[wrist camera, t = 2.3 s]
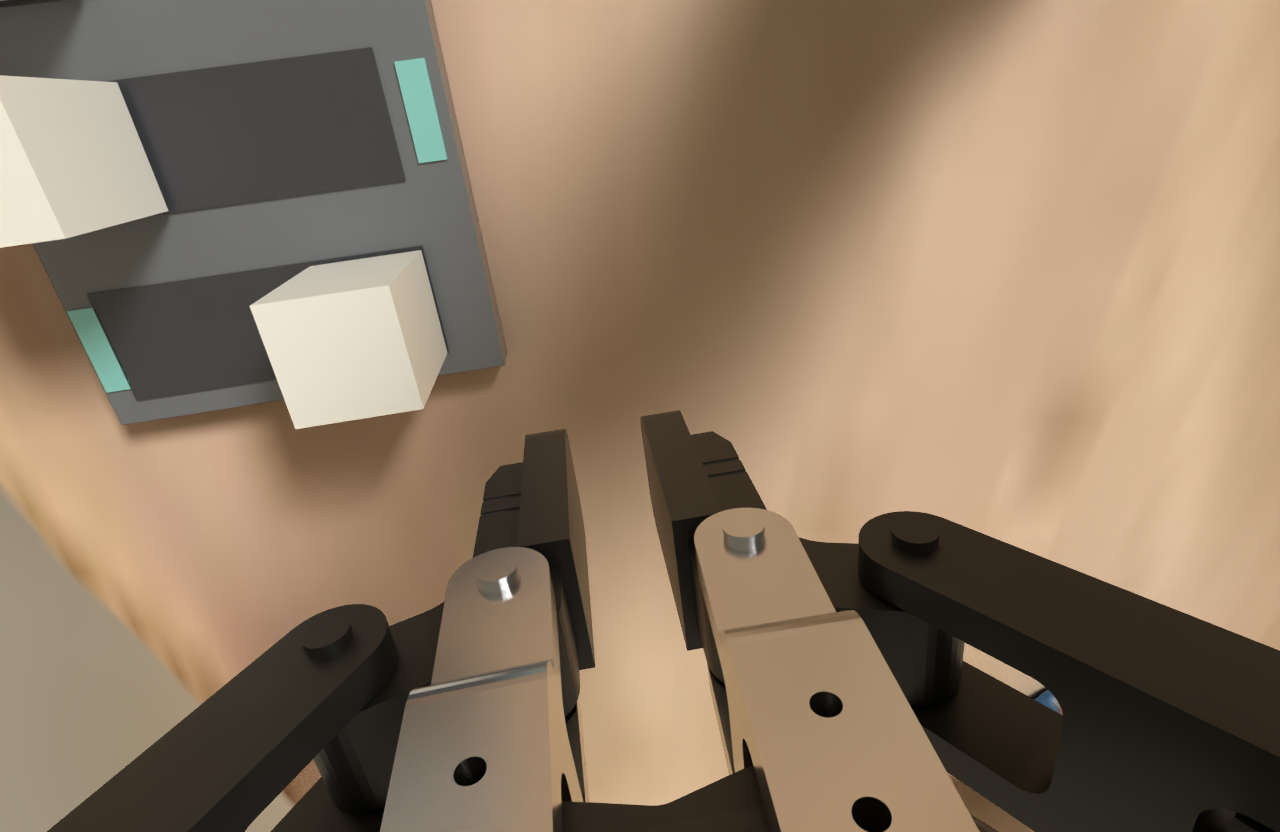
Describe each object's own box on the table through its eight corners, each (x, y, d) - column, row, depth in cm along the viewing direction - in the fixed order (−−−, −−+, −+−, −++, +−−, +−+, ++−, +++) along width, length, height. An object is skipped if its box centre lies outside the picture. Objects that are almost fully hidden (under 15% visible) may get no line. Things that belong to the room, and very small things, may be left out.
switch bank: (381, -228, 21) (368, -255, 20) (506, 352, 29) (504, 366, 28) (-131, -174, 20) (-187, -197, 19) (143, 408, 28) (119, 426, 27)
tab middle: (116, 82, 22) (-12, 74, 17) (168, 211, 24) (65, 238, 19) (-14, 99, 22) (-183, 96, 17) (48, 227, 23) (-90, 260, 18)
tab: (421, 250, 25) (389, 285, 20) (447, 352, 27) (423, 409, 22) (309, 266, 25) (249, 305, 20) (343, 368, 26) (295, 429, 21)
